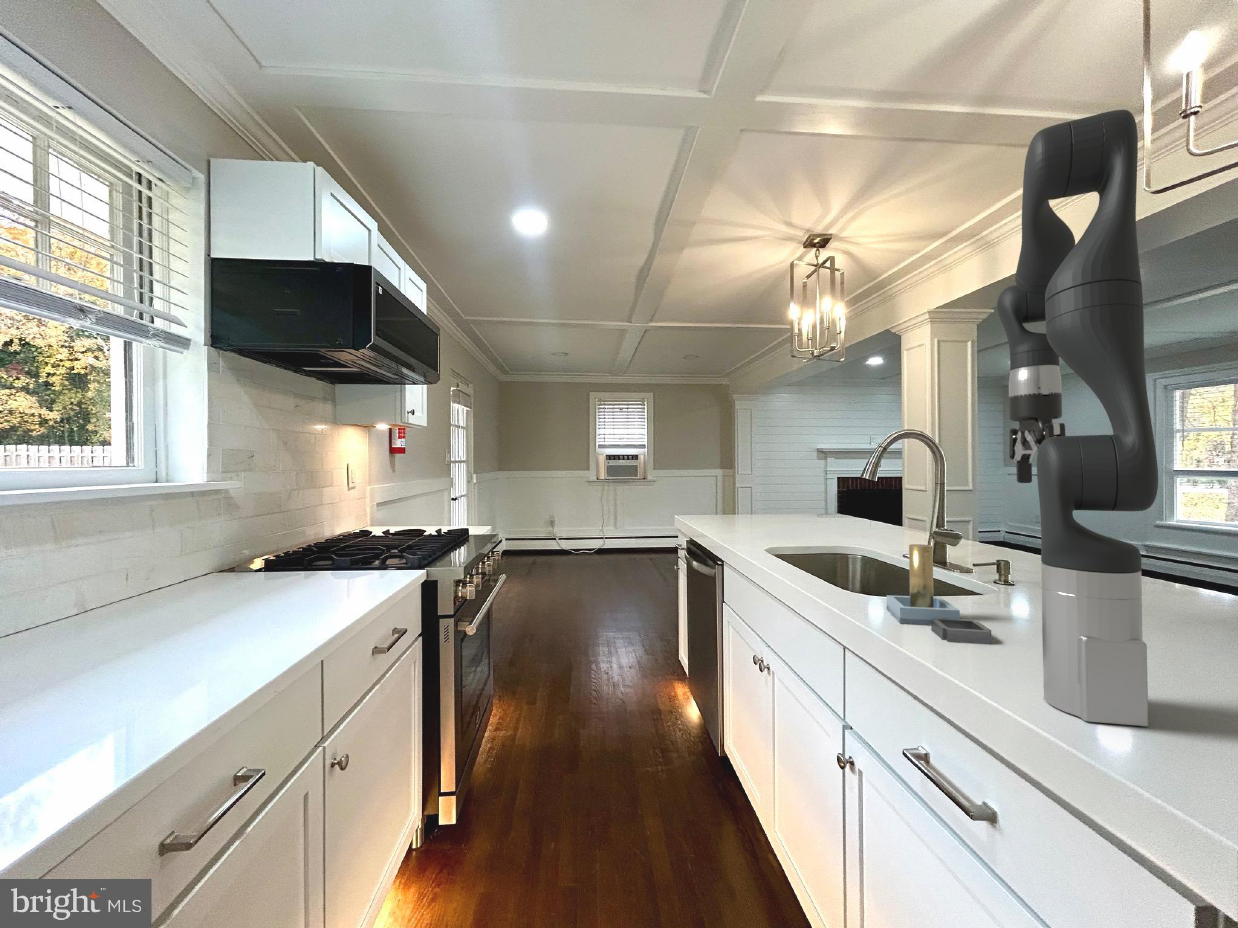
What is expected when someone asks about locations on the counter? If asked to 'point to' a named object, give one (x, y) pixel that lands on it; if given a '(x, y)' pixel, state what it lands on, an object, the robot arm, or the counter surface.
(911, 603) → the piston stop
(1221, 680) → the counter surface
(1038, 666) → the counter surface
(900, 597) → the tray
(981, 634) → the grey square holder
